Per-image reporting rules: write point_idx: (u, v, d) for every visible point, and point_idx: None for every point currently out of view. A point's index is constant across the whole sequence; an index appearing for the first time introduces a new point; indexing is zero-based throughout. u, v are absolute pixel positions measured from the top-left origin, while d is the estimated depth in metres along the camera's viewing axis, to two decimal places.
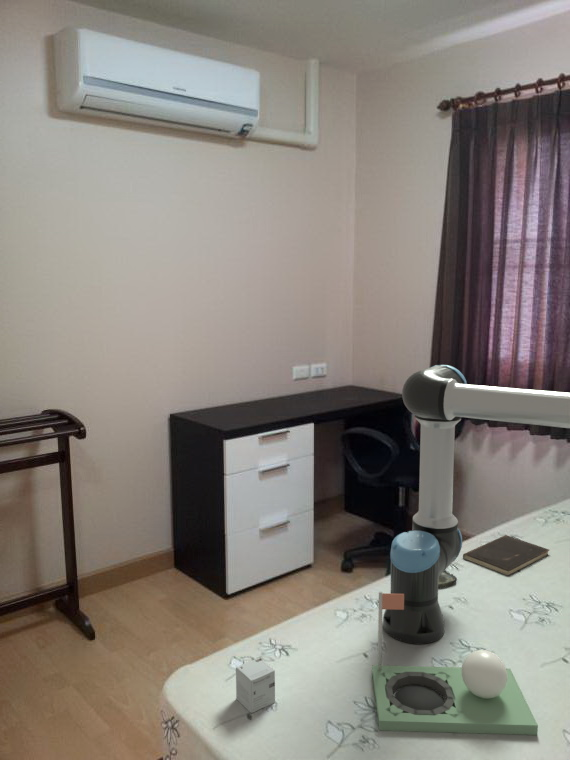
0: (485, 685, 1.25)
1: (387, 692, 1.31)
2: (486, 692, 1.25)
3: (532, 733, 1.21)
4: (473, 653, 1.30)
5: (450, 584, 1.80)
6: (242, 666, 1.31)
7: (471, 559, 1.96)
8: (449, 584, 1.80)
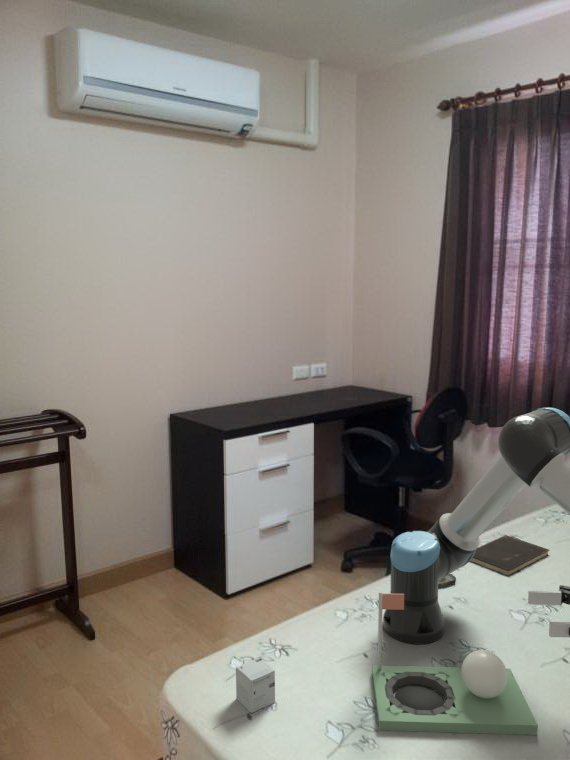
0: (485, 685, 1.25)
1: (387, 692, 1.31)
2: (486, 692, 1.25)
3: (532, 733, 1.21)
4: (473, 653, 1.30)
5: (449, 584, 1.80)
6: (242, 666, 1.31)
7: (471, 559, 1.96)
8: (448, 584, 1.80)
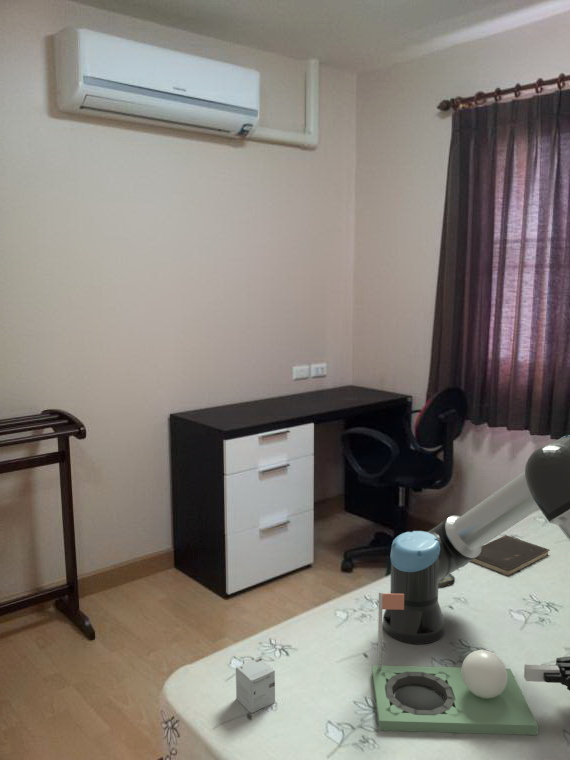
0: (485, 685, 1.25)
1: (387, 692, 1.31)
2: (486, 692, 1.25)
3: (532, 733, 1.21)
4: (473, 653, 1.30)
5: (447, 584, 1.81)
6: (242, 666, 1.31)
7: None
8: (446, 584, 1.80)
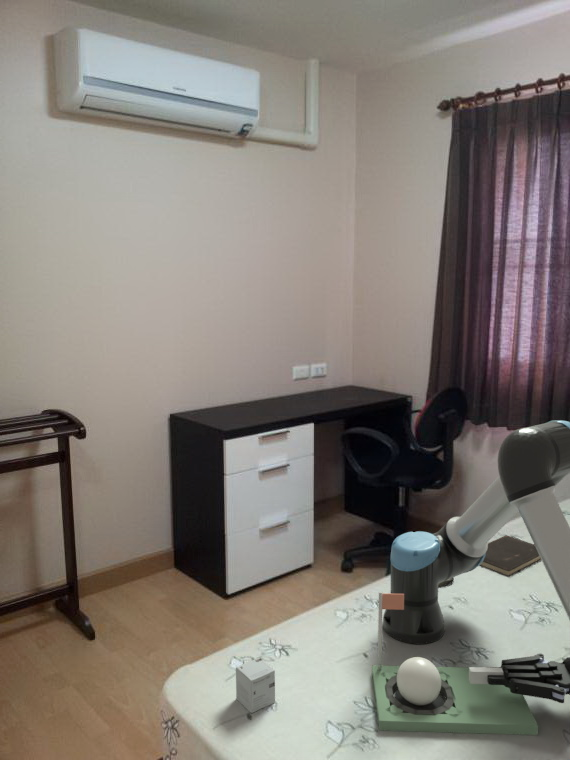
0: (428, 693, 1.25)
1: (387, 692, 1.31)
2: (428, 685, 1.25)
3: (532, 733, 1.21)
4: None
5: (446, 583, 1.81)
6: (242, 666, 1.31)
7: None
8: (445, 583, 1.81)
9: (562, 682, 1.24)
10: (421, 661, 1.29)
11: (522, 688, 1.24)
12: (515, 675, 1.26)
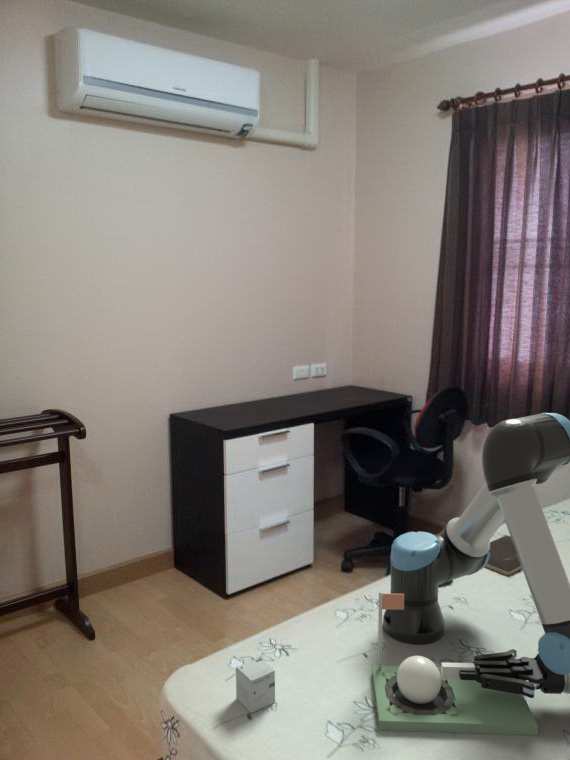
0: (433, 688, 1.26)
1: (387, 692, 1.31)
2: (432, 679, 1.26)
3: (532, 733, 1.21)
4: None
5: (445, 583, 1.81)
6: (242, 666, 1.31)
7: None
8: (444, 583, 1.81)
9: (533, 677, 1.25)
10: (421, 658, 1.30)
11: (493, 683, 1.25)
12: (487, 670, 1.27)
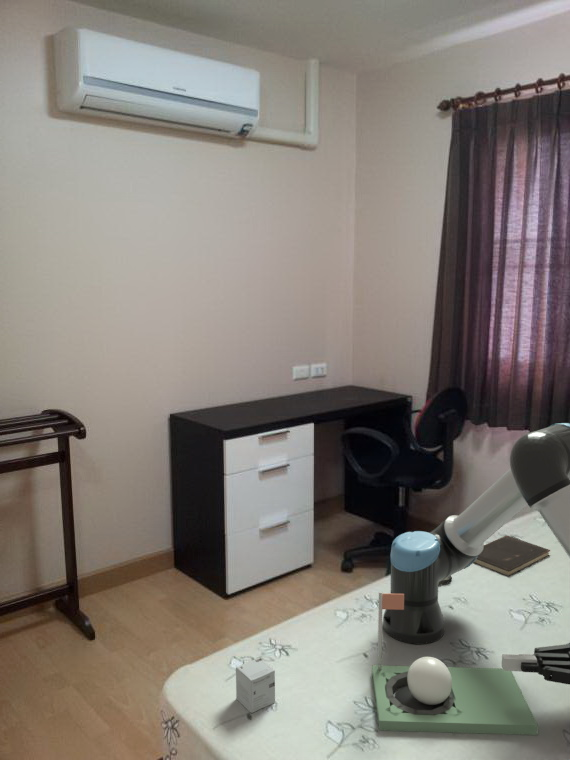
0: (444, 696, 1.26)
1: (387, 692, 1.31)
2: (446, 687, 1.26)
3: (532, 733, 1.21)
4: None
5: (443, 583, 1.81)
6: (242, 666, 1.31)
7: None
8: (442, 582, 1.81)
9: None
10: (441, 663, 1.29)
11: (556, 676, 1.24)
12: (549, 663, 1.26)
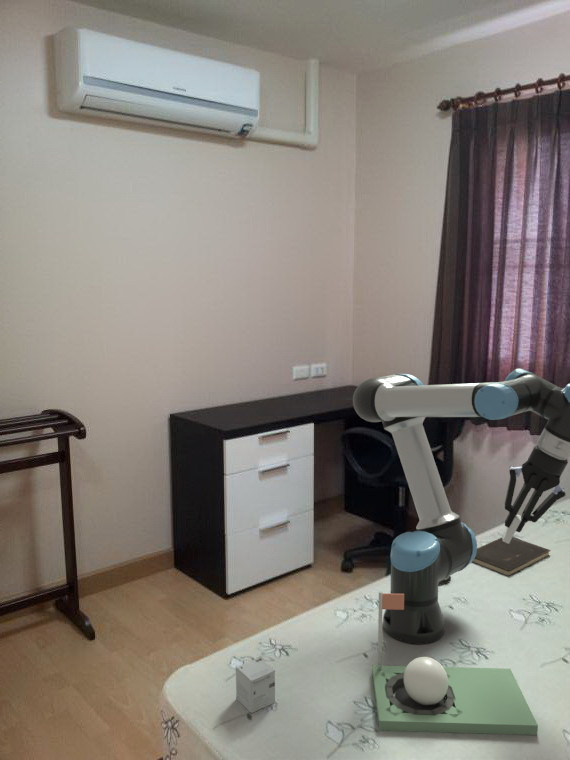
0: (440, 694, 1.26)
1: (387, 692, 1.31)
2: (442, 686, 1.26)
3: (532, 733, 1.21)
4: None
5: (442, 582, 1.81)
6: (242, 666, 1.31)
7: None
8: (441, 582, 1.81)
9: None
10: (435, 662, 1.29)
11: (506, 498, 1.44)
12: None
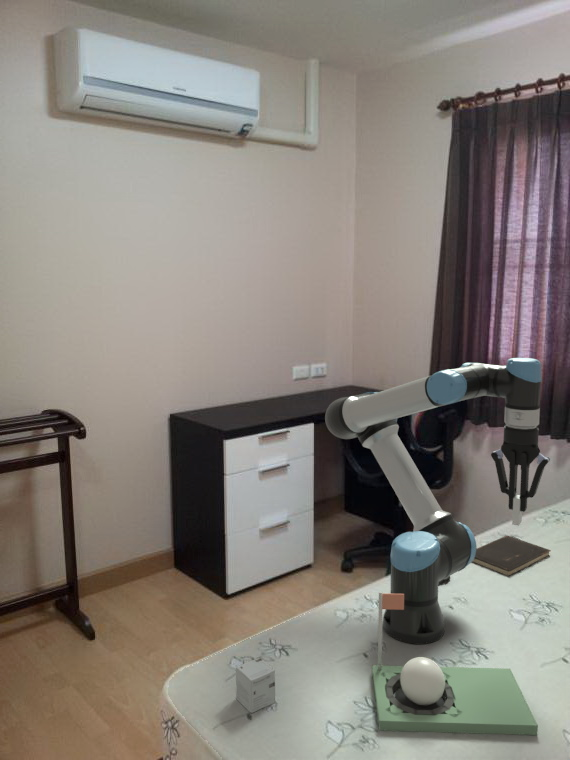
0: (437, 693, 1.26)
1: (387, 692, 1.31)
2: (438, 685, 1.26)
3: (532, 733, 1.21)
4: None
5: (441, 582, 1.81)
6: (242, 666, 1.31)
7: None
8: (440, 582, 1.81)
9: None
10: (428, 661, 1.29)
11: None
12: None
